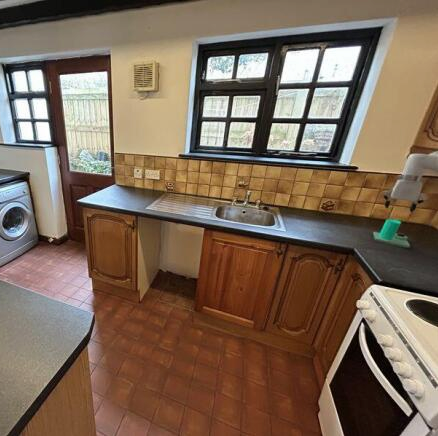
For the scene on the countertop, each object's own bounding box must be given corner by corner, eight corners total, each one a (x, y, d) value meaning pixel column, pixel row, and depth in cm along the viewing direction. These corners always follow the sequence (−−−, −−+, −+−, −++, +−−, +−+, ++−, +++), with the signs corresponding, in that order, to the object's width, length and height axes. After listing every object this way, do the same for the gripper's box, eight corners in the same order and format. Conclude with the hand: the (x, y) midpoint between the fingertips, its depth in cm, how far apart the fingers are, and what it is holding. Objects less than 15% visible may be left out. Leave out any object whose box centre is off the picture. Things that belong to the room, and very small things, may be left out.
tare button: (403, 236, 138) (404, 233, 138) (404, 237, 136) (405, 235, 135) (396, 234, 140) (397, 231, 139) (397, 236, 138) (398, 233, 137)
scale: (404, 240, 139) (406, 235, 138) (409, 248, 130) (411, 243, 129) (372, 233, 147) (374, 229, 146) (374, 240, 138) (376, 235, 137)
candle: (390, 236, 139) (400, 217, 135) (393, 241, 135) (404, 221, 130) (377, 234, 142) (386, 215, 137) (380, 238, 137) (389, 218, 133)
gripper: (389, 177, 128) (378, 208, 134) (437, 181, 118) (422, 214, 124) (387, 175, 134) (376, 204, 140) (432, 179, 124) (419, 210, 130)
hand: (398, 209), depth 132 cm, fingers open, 9 cm apart
